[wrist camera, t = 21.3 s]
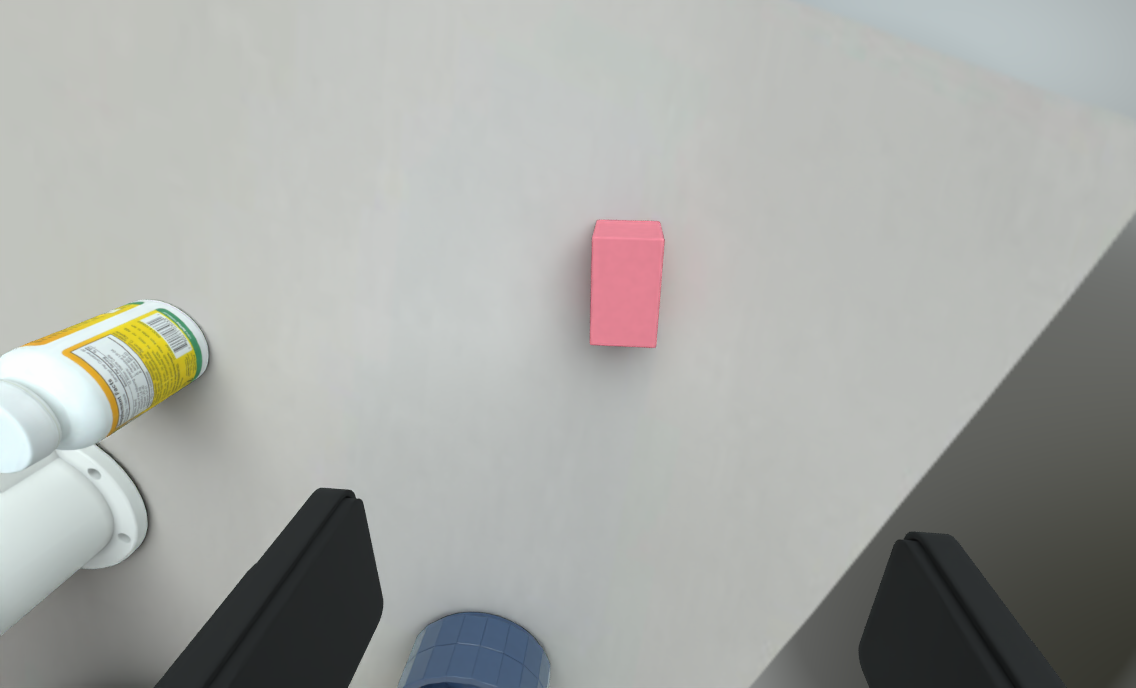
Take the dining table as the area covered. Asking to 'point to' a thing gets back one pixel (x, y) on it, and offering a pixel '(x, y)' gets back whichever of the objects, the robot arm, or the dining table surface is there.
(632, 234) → the eraser
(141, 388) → the supplement bottle
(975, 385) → the dining table surface
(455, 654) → the bowl
